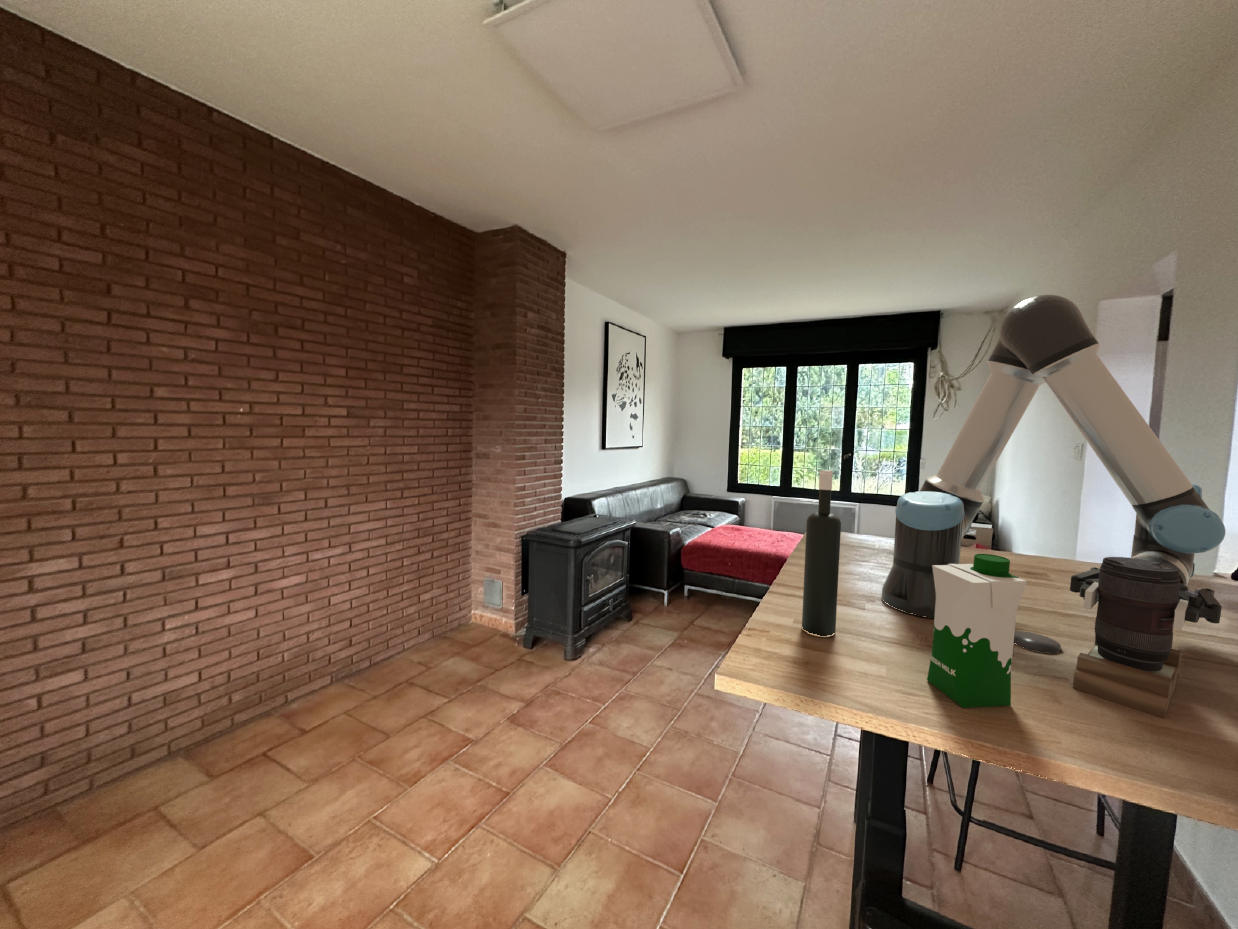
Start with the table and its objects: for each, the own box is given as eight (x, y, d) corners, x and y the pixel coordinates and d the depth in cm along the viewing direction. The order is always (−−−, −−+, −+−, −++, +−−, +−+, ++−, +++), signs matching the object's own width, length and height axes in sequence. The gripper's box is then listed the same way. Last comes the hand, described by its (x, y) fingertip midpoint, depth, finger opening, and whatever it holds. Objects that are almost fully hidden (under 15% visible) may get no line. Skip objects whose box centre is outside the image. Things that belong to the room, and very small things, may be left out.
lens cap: (1015, 650, 83) (1016, 644, 83) (1002, 633, 89) (1003, 628, 89) (1067, 658, 80) (1068, 652, 80) (1050, 640, 87) (1051, 635, 87)
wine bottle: (835, 627, 91) (843, 469, 88) (835, 640, 86) (843, 473, 82) (802, 622, 93) (809, 468, 90) (800, 634, 88) (807, 471, 85)
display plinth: (1164, 718, 64) (1168, 686, 63) (1072, 687, 71) (1076, 658, 71) (1178, 677, 74) (1181, 649, 74) (1096, 653, 81) (1099, 628, 81)
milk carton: (1023, 709, 66) (1036, 567, 64) (960, 712, 65) (972, 568, 63) (971, 675, 74) (981, 548, 72) (915, 677, 74) (925, 549, 72)
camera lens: (1144, 652, 75) (1155, 558, 73) (1185, 679, 67) (1198, 574, 66) (1079, 643, 77) (1088, 552, 76) (1111, 669, 70) (1122, 568, 68)
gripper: (1251, 620, 74) (1248, 666, 60) (1067, 582, 91) (1033, 611, 77) (1257, 573, 73) (1256, 608, 60) (1072, 543, 90) (1037, 565, 76)
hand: (1130, 609), depth 68 cm, fingers closed on camera lens, 8 cm apart
